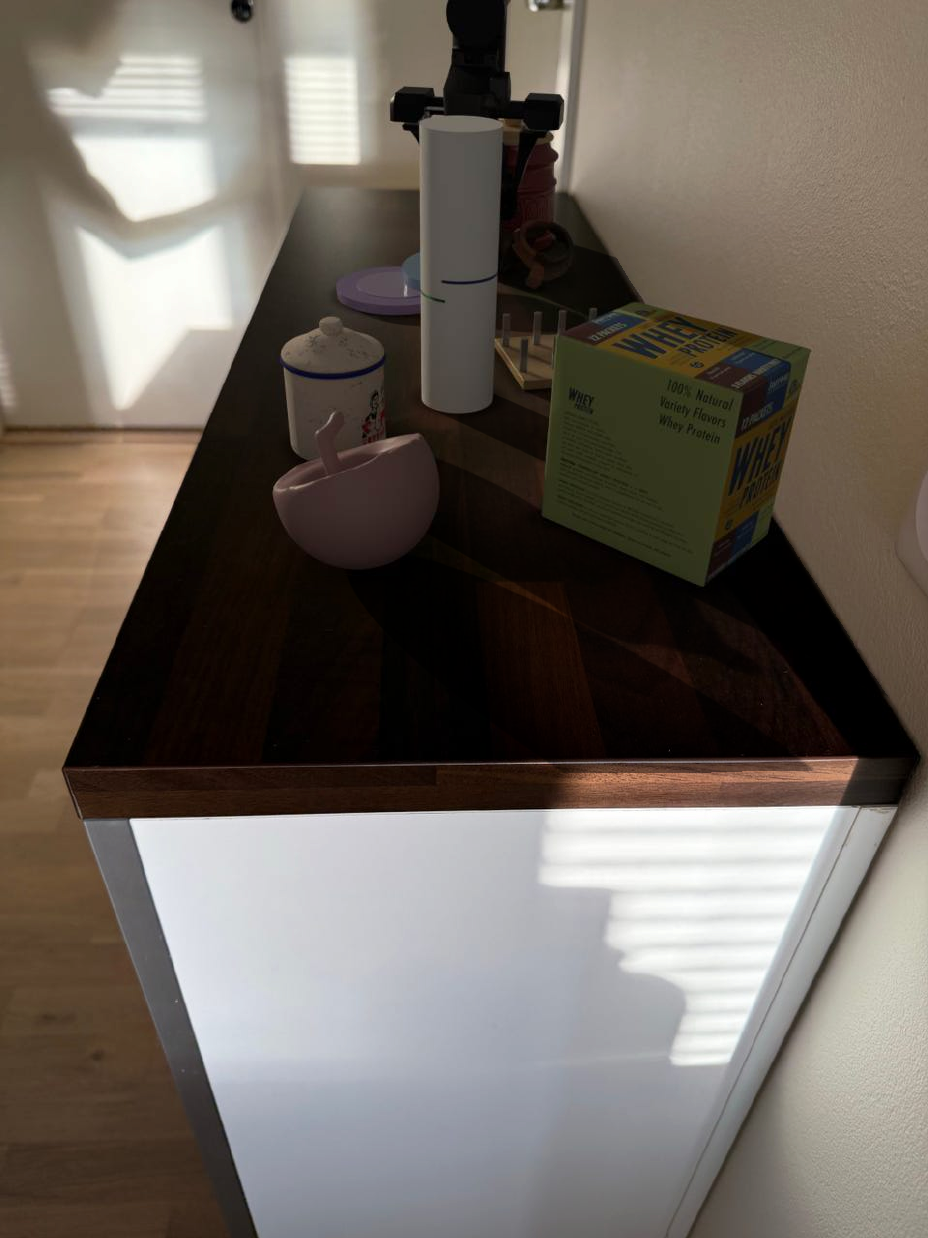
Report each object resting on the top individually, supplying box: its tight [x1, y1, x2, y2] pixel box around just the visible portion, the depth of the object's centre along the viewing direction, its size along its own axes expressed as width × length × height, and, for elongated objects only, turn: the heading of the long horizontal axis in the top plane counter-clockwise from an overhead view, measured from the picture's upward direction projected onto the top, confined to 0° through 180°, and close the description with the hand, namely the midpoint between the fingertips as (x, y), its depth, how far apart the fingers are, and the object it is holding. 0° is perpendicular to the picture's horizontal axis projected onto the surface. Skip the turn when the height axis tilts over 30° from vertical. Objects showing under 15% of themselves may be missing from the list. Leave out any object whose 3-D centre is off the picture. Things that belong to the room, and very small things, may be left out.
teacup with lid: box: [279, 316, 387, 462], centre depth 87 cm, size 12×9×12 cm
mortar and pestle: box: [272, 411, 441, 571], centre depth 72 cm, size 12×12×12 cm
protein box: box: [540, 301, 812, 588], centre depth 75 cm, size 10×15×16 cm
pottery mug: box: [498, 219, 574, 290], centre depth 127 cm, size 12×10×8 cm
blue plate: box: [402, 251, 499, 291], centre depth 123 cm, size 12×1×12 cm
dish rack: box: [495, 307, 598, 391], centre depth 105 cm, size 12×11×4 cm
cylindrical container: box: [419, 115, 503, 414], centre depth 91 cm, size 7×7×25 cm
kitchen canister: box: [499, 119, 560, 251], centre depth 137 cm, size 13×13×18 cm
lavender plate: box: [335, 265, 421, 316], centre depth 123 cm, size 15×15×1 cm
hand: (475, 191), depth 113 cm, fingers open, 9 cm apart
